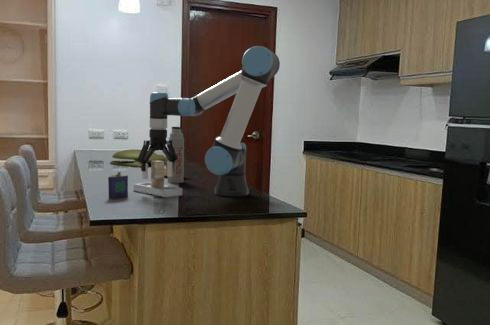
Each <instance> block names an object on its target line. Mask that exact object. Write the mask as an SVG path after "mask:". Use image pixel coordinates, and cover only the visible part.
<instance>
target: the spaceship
mask: <svg viewBox="0 0 490 325" xmlns="http://www.w3.org/2000/svg"><path fill="white" fill-rule="evenodd" d="M141 150H142V149H133V148H132V149H125V150H120V151H117V152H115V153H113V155H112V158H113V159H118V160H131V161H132V160H133V162H129V161H128V162H127V161H118V160H112V161H110V162H109V164H110V165H113V164H114V165H113V166H121V165H122V166H123V167H129V166H130V167H131V168H137V167H140V168H139V169H141V163H139V162H137V159H138V157H139V155H140V152H141ZM165 158H166V156H165V154H158V153H156V152H153V154H152V155H151V157H150V158H149V160H148V161H147V163H146V164H148V165H149V164H151V161H157V160H159V161H164V165H165V164H166V159H165ZM122 166H121V167H122Z"/></svg>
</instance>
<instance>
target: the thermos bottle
mask: <svg viewBox="0 0 490 325" xmlns="http://www.w3.org/2000/svg"><path fill="white" fill-rule="evenodd" d="M167 140H172V145H173V148H174V151H175V153H176V156H177V160H175V162H174V165H173V169H172V177H169V176H168V177H167V182H168V183H173V184H178V183H180V184H181V183H182V184H183V183H184V175H185V173H184V172H185V171H184V168H185V165H184V163H185V160H184V158H185V138H184V133H183V132H182V127H181V126H171V132H170V133H169V137H167ZM168 151H169V150H168ZM168 162H169V160H168Z"/></svg>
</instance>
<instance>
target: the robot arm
mask: <svg viewBox="0 0 490 325" xmlns="http://www.w3.org/2000/svg"><path fill="white" fill-rule="evenodd" d="M241 65H242V67H241V70H240V71H238V72H236V73H234V74H232V75H230V76H228V77H227V78H225V79H223V80H221V81H219V82H218V83H217V84H215V85H213V86H211V87H209V88H207V89H205V90H204V91H201V92H200V93H199V94H196V95H195V96H193V97H191V98H190V97H189V98H188V97H169V95H168V93H166V92H152V93H150V96H149V128H150V129H149V131H148V132H149V140H147V139H145V140H144V139H143V145H142V147H141V149H140V150H141V152H140V155H139V157H138V159H137V162H139V163H141V168H140V171H141V172H142V174H141V176H142V177H141V178H142V179H143V180H149V178H148V177H149V163H148V164H146V163H147V161H148V160H149V158H150V157H151V155H152V154H153V152H154V153H156V151H157V152H158V151H162V153H163V155H164V156H165V157H167V159H168V160H169V162H167V176H169V177H172V169H173V165H174V162H175V160H177V156H176V153H175V151H174V148H173V145H172V140H168V130H167V129H168V116H176V117H177V116H179V117H198V116H200V115H202V114H203V112H205V111H206V110H207V109H209V108H212V107H214V106H215V105H217V104H219V103H221V102H222V101H224V100H226V99H228V98H230V97H232V96H234V99H233V102H232V105H231V108H230V110H229V112H228V114H227V115H228V116H227V117H226V120H225V123H224V126H223V128H222V130H221V133H220V135H219V136H216V137H215V138H214V141H213V144H212V145H211V146H212V147H210V148H209V149H208V150H207V151H206V153H205V155H204V164H205V166H206V168H207V170H208V171H210V172H211V173H212V174H214V175H218V179H217V181H216V185H215V187H214V195H218V196H222V197H245V196H248V195H249V187H248V184H247V179H246V165H247V164H246V161H247V160H246V159H247V145H246V143H244V142H241V141H242V138H244V134H245V131H246V129H247V126H248V124H249V120H250V118H251V117H252V113H253V111H254V109H255V106H256V103H257V101H258V98H259V96H260V93H261V90H262V89H263V88H265V87H267V86H268V83H269V81H270V79H272V78H273V77H275V76H276V75H277V74H278V72H279V70H280V65H281V63H280V58H279V56H278V55H277V54H276V53H275V52H274V51H272V50H271V49H269V48H267V47H266V46H262V45H255V46H252V47H251V46H250V48H248V49H247V50H245V52H244V53H243V56H242V59H241ZM168 150H169V151H168ZM167 176H166V177H167Z"/></svg>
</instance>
